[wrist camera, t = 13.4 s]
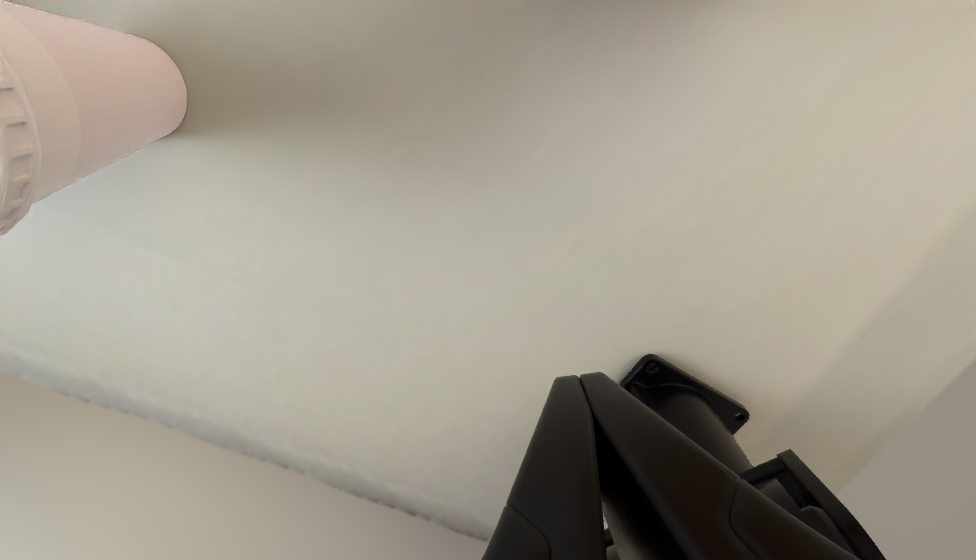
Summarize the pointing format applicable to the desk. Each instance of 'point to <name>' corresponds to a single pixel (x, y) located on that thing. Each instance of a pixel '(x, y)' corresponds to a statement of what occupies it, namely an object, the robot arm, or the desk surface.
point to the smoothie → (75, 102)
